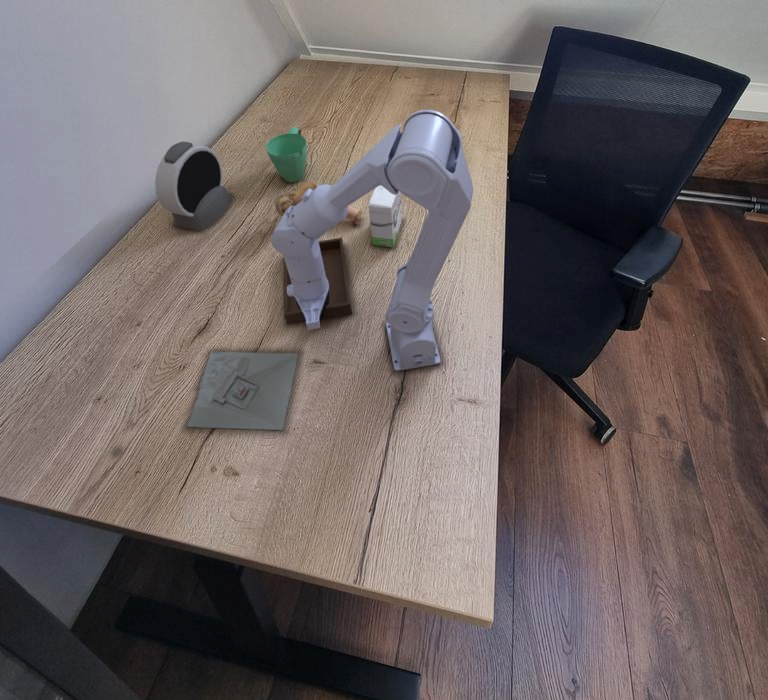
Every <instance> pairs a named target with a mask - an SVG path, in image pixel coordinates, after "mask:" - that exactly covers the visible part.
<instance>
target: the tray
mask: <svg viewBox="0 0 768 700" xmlns="http://www.w3.org/2000/svg"><path fill="white" fill-rule="evenodd" d="M318 241H319V246H320V251H321V256H322V260H323V265H324V270H325V274H326V278H327V280H328V283H329V299H330V300H329V304H328V305H327V306H326V308H325V316H324V318H323V319H327V318H333V317H340V316H345V315H346V316H347V315H350V314H351V315H352V314H353V310H352V303H351V294H350V287H349V280H348V272H347V264H346V256H345V247H344V242H343V238H342V237H337V238H330V239H323V240H318ZM291 284H292V282H291V279H290V276H289V272H288V269H287V266H286V262H285V259H284V258H283V317H284V320H285V323H286V324H287V325H291V324H297V323H302V322H306V318H305V316H304V314H303V312H302V310H301V309H299V308H298V306H297V303H296V298H295V297H294V296H291V297H290V296H288V294H287V286H288V285H291Z"/></svg>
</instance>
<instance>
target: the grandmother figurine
mask: <svg viewBox="0 0 768 700" xmlns="http://www.w3.org/2000/svg"><path fill="white" fill-rule="evenodd" d="M364 211H365V209H364V208H361V209H358V208H355V207H352V206H350V205H349V206H348V214H347V216H346V218H345V219H347V220H349V221H351V222H354V224H355V226H357V225H358V223H359V221H360V220H361V218H362V215H363V213H364Z"/></svg>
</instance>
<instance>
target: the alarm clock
mask: <svg viewBox="0 0 768 700" xmlns="http://www.w3.org/2000/svg"><path fill="white" fill-rule="evenodd" d="M223 179H224V178H223V167H222V163H221V161H220V158H219V156H218V154H217V153H216V152H215V151H214V150H213V149H212V148H209V147H208V146H203V145H198V144H193V143H192V142H189V141H179V142H177V143H175V144H173V145H172V146H170V147H169V148H168V149H167V151H166V152H165V154H164V155H163V157H162V159H161V160H160V162H159V164H158V166H157V169H156V173H155V179H154V180H155V181H154V186H155V195H156V198H157V200H158V203H159V204H160V205H161V206H162V208H163V209H164V210H166V211H167V212H169V213H171V214H172V217H173V220H174V224H175V226H177V227H181V228H184V229H189V230H193V231H197V232H202V231H204V230H206V229H207V228H209V227H210V226H212V225H213V224H214V223H215V222H217V220H219V218H220V217H222V215H223V214H224V213H225V212H226V210H227V209H228V207H229V204H230V203H231V200H232V196H231V195H230V193H229V192H228V189H227V188H226V187H225V186H224V185H223Z"/></svg>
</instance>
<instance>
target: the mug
mask: <svg viewBox="0 0 768 700" xmlns="http://www.w3.org/2000/svg"><path fill="white" fill-rule="evenodd" d="M307 150H308V143H307V140H306V138H305V137H304V136H303V135H302V133H301V129H300V128H298V127H296V126H292V127H290V128H289V130H288V133H281V134H277V135H276V136H274V137H272V138H270V139H269V140H268V141H267V143H266V145H265V151H266V153H267V155H268V157H269V159H270V161H271V163H272V164H273V167H274V168H275V170H276V172H278V174H279V175H280V176H281V178H283V179H284V180H285V182H287V183H297V182H299V181H300V180H302V179H303V177H304V173H305V169H306V165H307V154H308V151H307Z"/></svg>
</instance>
